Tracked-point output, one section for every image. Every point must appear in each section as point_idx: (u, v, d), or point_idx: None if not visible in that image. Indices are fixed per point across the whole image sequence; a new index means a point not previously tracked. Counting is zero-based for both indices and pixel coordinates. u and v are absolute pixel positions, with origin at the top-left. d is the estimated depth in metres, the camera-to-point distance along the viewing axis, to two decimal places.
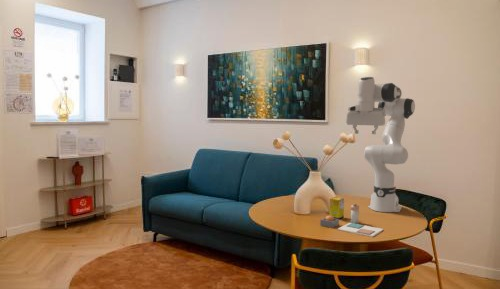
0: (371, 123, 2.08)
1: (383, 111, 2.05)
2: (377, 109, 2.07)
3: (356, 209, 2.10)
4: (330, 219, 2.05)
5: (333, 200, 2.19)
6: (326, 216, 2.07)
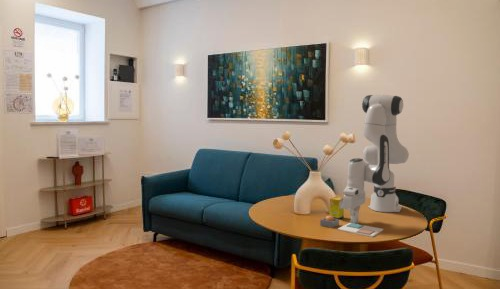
0: (361, 203, 2.13)
1: None
2: None
3: (356, 209, 2.10)
4: (330, 219, 2.05)
5: (333, 200, 2.19)
6: (326, 216, 2.07)
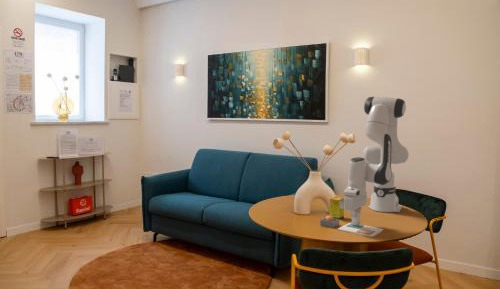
0: (362, 204, 2.04)
1: None
2: None
3: (357, 210, 2.01)
4: (330, 219, 2.05)
5: (333, 200, 2.19)
6: (326, 216, 2.07)
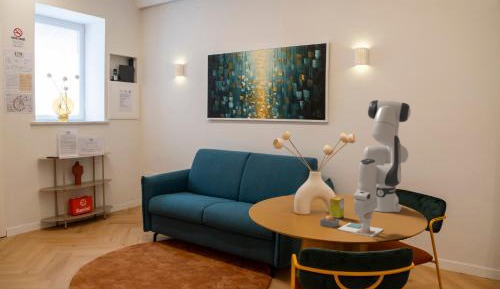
0: (373, 208, 1.95)
1: None
2: None
3: (367, 217, 1.91)
4: (330, 219, 2.05)
5: (333, 200, 2.19)
6: (326, 216, 2.07)
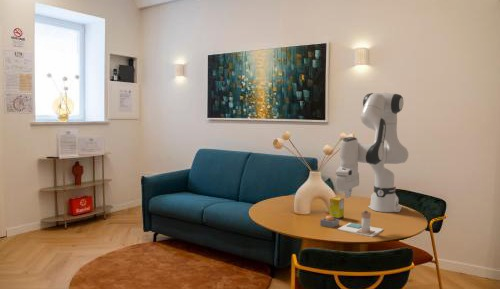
0: (354, 185, 2.01)
1: None
2: None
3: (367, 216, 1.91)
4: (330, 219, 2.05)
5: (333, 200, 2.19)
6: (326, 216, 2.07)
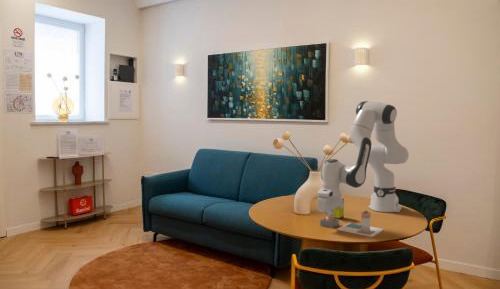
0: (336, 205, 2.08)
1: (339, 191, 2.13)
2: None
3: (367, 216, 1.91)
4: (330, 219, 2.05)
5: None
6: (326, 216, 2.07)
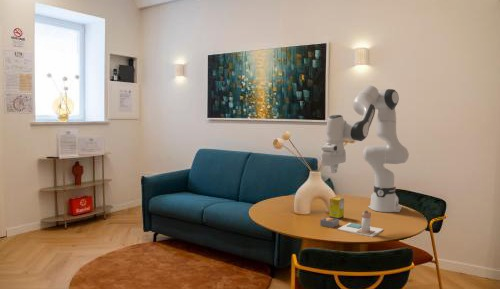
0: (341, 161, 2.09)
1: (343, 148, 2.14)
2: None
3: (367, 216, 1.91)
4: None
5: (333, 200, 2.19)
6: (326, 218, 2.07)
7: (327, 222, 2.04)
